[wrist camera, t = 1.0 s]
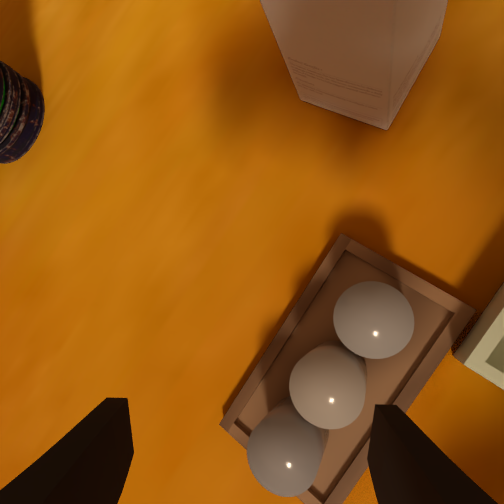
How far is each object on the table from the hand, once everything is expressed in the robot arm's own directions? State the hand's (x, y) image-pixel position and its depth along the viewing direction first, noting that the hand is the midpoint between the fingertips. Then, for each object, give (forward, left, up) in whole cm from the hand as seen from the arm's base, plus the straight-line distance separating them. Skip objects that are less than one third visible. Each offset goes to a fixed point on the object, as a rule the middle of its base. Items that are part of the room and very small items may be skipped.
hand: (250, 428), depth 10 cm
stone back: (-1, +5, -14) cm, 15 cm away
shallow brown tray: (-1, 0, -14) cm, 14 cm away
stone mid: (-1, 0, -14) cm, 14 cm away
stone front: (-1, -4, -14) cm, 14 cm away
